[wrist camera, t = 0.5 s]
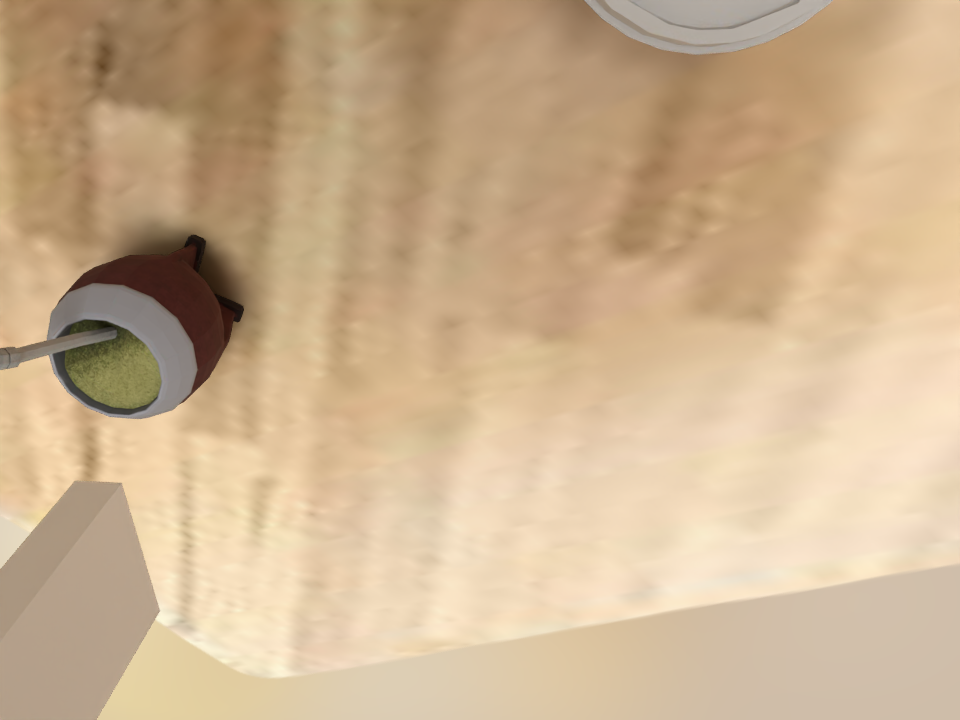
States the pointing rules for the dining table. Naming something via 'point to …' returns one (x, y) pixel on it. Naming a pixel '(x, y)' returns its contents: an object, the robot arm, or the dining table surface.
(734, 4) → the disposable coffee cup
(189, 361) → the mate gourd
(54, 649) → the robot arm
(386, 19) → the dining table surface
